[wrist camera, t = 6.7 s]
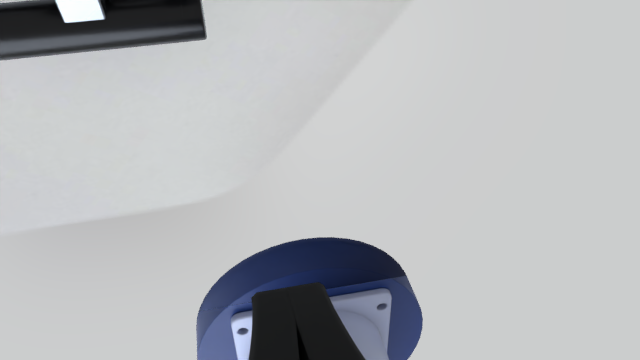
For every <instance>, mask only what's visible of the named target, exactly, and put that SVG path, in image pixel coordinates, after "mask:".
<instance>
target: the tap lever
mask: <svg viewBox="0 0 640 360" xmlns="http://www.w3.org/2000/svg"><path fill="white" fill-rule="evenodd" d="M206 38H207V34H206V26H205V19H204V12H203V6H202V0H32V1H21V2H10V3H0V60H10V59H20V58H29V57H39V56H49V55H59V54H69V53H79V52H89V51H99V50H109V49H118V48H128V47H138V46H148V45H158V44H168V43H178V42H188V41H198V40H205V39H206Z"/></svg>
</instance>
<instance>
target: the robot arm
mask: <svg viewBox="0 0 640 360" xmlns="http://www.w3.org/2000/svg"><path fill="white" fill-rule="evenodd" d="M391 300H392V297H391V294H390V291H389V290H388V289H385V288H379V289H373V290H368V291H362V292H356V293H350V294H344V295H339V296H333V297H329V296H328V294H327V292H326V289H325V287H324V285H322V284H321V283H319V282H317V283H311V284H305V285H299V286H293V287H287V288H281V289H275V290H269V291H263V292H257V293H256V294H255V295H254V296H253V297H252V310H251V311H245V312H240V313H237V314H235V315H234V316H233V317H232V318H231V327H232V332H233V337H234V342H235V347H236V353H237V358H238V360H389V358H388V355H387V347H388V335H389V324H390V312H391Z"/></svg>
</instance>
